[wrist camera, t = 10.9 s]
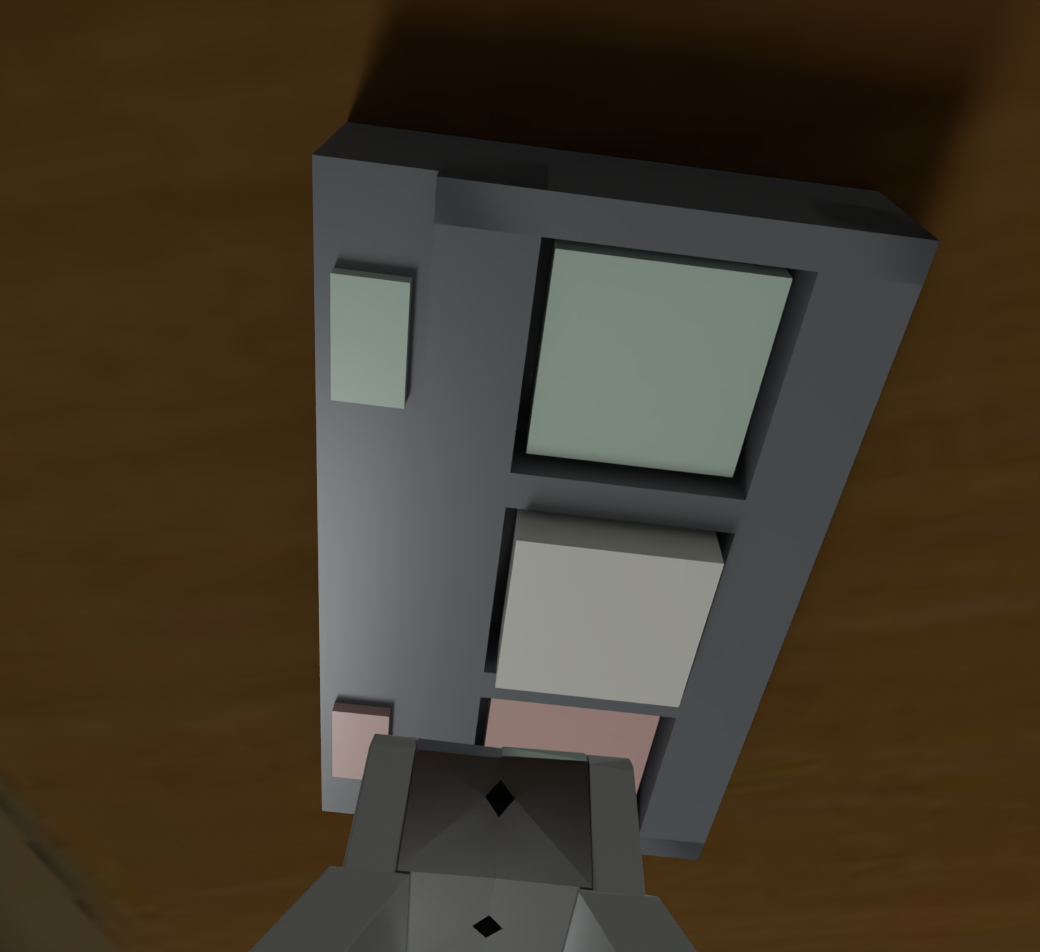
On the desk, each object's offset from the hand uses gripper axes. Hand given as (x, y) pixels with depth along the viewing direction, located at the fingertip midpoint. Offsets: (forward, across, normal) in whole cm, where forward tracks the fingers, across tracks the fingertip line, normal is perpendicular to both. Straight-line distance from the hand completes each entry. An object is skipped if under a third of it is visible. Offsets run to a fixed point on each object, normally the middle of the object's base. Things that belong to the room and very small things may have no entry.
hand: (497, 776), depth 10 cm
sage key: (+16, -3, +2) cm, 17 cm away
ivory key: (+15, -3, +10) cm, 18 cm away
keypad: (+18, -2, +10) cm, 21 cm away
